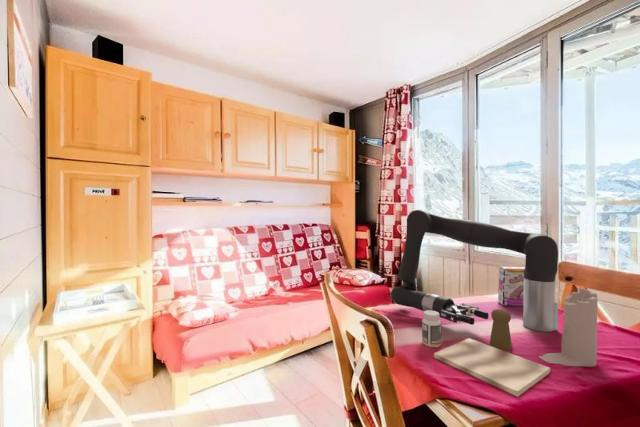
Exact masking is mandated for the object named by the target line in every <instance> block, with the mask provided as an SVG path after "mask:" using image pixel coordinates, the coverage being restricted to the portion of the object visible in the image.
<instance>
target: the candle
mask: <svg viewBox="0 0 640 427" xmlns="http://www.w3.org/2000/svg"><path fill="white" fill-rule="evenodd" d="M563 322H564V323H563V329H562V330H563V331H562V337H561V351H560V352H550V353H549V352H548V353H544V355H539V356H538V358H539V359H541V360H542V361H544V362H545V363H549V364H555V365H556V364H557V365H562V366H565V367H568V366H569V367H589V368H590V367H591V368H592V367H596V366H597V355H598V354H597V351H598V350H597V344H598V343H597V340H598V336H597V335H598V294H597V293H596V292H594V291H592V290H590V289H588V288H584V287H579V288H578V292H577V291H571V293H570V295H568V296H565V297H564V304H563Z"/></svg>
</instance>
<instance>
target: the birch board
mask: <svg viewBox="0 0 640 427" xmlns="http://www.w3.org/2000/svg"><path fill="white" fill-rule="evenodd" d="M433 358H434V359H436V360H438V361H441V362H442V363H445V364H447V365H449V366H451V367H453V368H456V369H458V370H460V371H462V372H464V373H466V374H468V375H470V376H473V377H475V378H478V379H479V380H481V381H483V382H485V383H488V384H490V385H491V386H494V387H496V388H499V389H500V390H502V391H505V392H506V393H509V394H511V395H513V396H516V397H517V398H518V397H520V395H522V394H523V393H525V392H526V391H527V390H529V389H530V388H531V387H533V386H534V385H536V384H537V383H538V382H539V381H541V380H542V379H544V377H546V376H548V375H549V374H550V373H551V367H548V366H547V365H546V366H545V365H543V364H540V363H537V362H534V361H532V360H530V359H527V358H524V357H521V356H519V355H516V354H513V353H511V352H508V351H506V350H500V349H497V348H495V347H492V346H491V345H490V344H486V343H483V342H481V341H478V340H476V339H472V338H470V337H468V338H465V339H463V340H461V341H459V342H457V343H455V344H451V345H449V346H446V347H445V348H443V349H440V350H438V351H435V352H433Z"/></svg>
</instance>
